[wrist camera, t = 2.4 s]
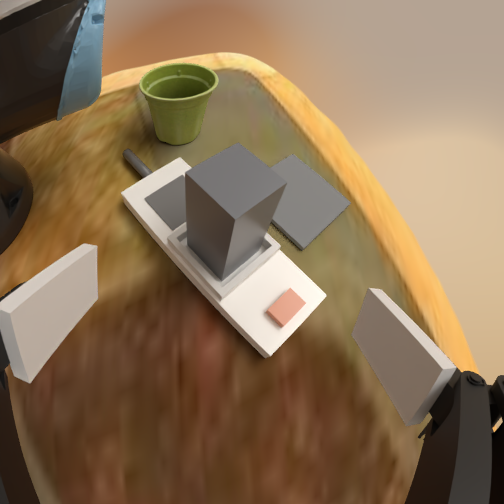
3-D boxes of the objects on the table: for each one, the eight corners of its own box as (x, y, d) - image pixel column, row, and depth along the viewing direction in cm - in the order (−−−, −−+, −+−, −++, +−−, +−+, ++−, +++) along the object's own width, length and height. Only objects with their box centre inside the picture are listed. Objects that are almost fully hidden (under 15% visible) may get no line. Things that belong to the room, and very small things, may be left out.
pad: (237, 191, 33) (238, 188, 33) (291, 156, 37) (292, 153, 37) (302, 250, 31) (303, 248, 30) (348, 205, 35) (351, 202, 35)
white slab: (101, 174, 31) (95, 156, 28) (153, 144, 35) (152, 125, 32) (265, 358, 25) (273, 354, 22) (319, 301, 29) (332, 291, 26)
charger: (186, 244, 27) (183, 171, 18) (224, 216, 29) (237, 141, 20) (221, 281, 26) (235, 219, 17) (259, 250, 28) (287, 182, 19)
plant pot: (222, 145, 36) (230, 91, 29) (152, 162, 33) (147, 106, 26) (199, 107, 40) (203, 59, 32) (138, 121, 36) (133, 71, 29)
